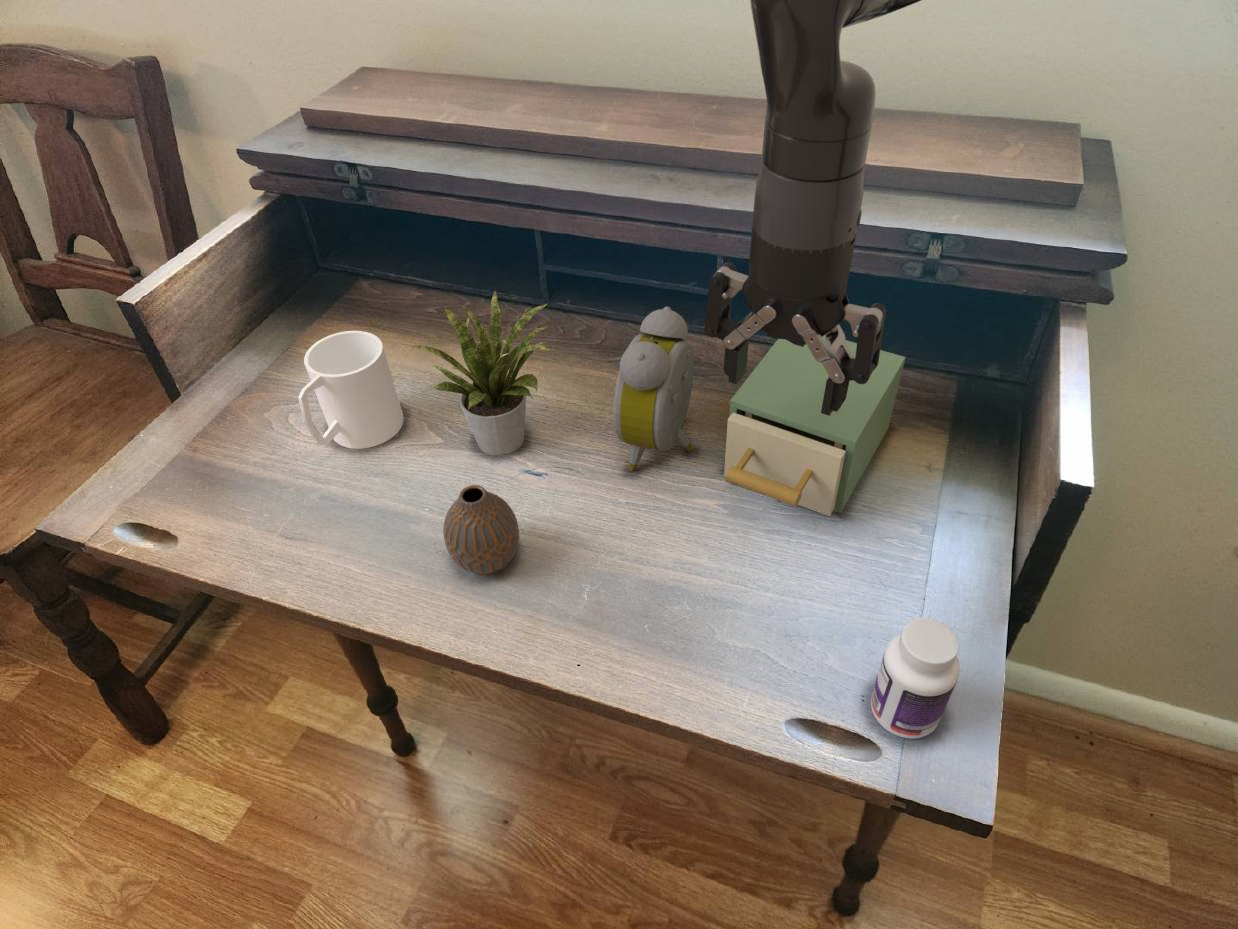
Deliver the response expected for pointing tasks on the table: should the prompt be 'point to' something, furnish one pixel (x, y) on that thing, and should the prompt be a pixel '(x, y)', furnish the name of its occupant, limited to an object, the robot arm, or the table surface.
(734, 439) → the drawer
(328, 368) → the cup
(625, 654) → the table surface
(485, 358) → the house plant
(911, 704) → the pill bottle
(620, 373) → the alarm clock
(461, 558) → the vase
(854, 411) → the cabinet
